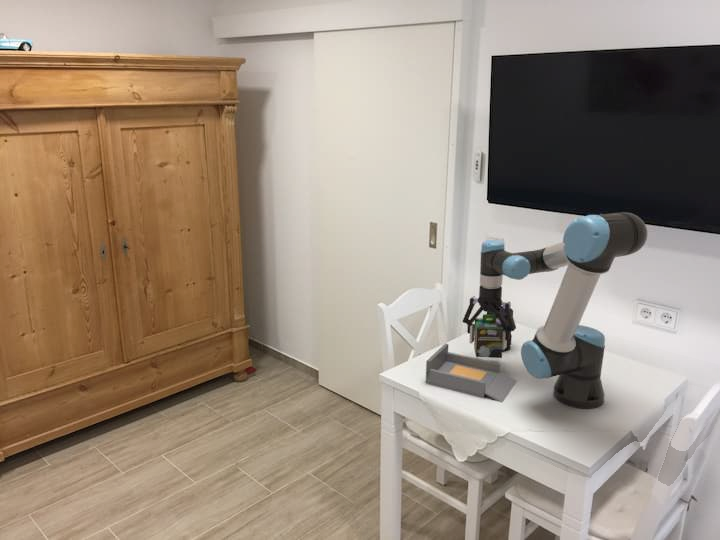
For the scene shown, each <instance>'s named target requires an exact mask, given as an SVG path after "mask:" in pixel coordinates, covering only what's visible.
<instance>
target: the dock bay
mask: <svg viewBox="0 0 720 540" xmlns="http://www.w3.org/2000/svg"><path fill="white" fill-rule="evenodd" d="M425 364H426V365H425V367H426V369H425V384H428V383H429V384H428V385H432V384H433V386H436V387H437V386H438V387H440V388H444V389H445V388H446V389H448V390H453V391H457V392H460V393H463V394H464V393H465V394H469V395H473V396H477V397H481V398H485V396H487V397H489V398H490V399H494V401H496V402H499V403H503V402H504V400H505V399H506V398H507V396H508V395H509V394H510V391H512V389H513V388H514V386H515V385H516V383H517V381H518V380H516V379H515V378H513V377H511V376H509V375H507V374H506V373H503V372H501V363H500V362H495V361H493V360H492V361H491V360H487V359H482V358H479V357H472V356H468V355H464V354H459V353H456V352H450V351H449V343H444V344H443V345H442V346H441V347H440V348H439V349H437V351H435V352H434V353H433V354H432V355H431V356H430V357H428V359H427V360H426V363H425Z"/></svg>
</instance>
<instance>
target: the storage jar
mask: <svg viewBox="0 0 720 540" xmlns="http://www.w3.org/2000/svg"><path fill="white" fill-rule="evenodd" d="M500 309H501V311H502V314H503V315H504V317H505V319H506V321H507V322H508V319H507V316H506V313H505V309H504V308H503V306H502V305H501V306H500ZM510 309H511V312H512V315H513V316H514V309H513V308H511V307H510ZM486 314H495V313H494V312H493V313H491V312H486ZM487 318H492V317H487ZM496 318H498V317H497V316H496ZM508 324H509V323H508ZM504 330H505V329H504V328H503V331H504ZM512 338H513V336H512V331H510V339H509V340H508V341H507V347H506V348H505V350H502V353H506V351H507V352H509V351H510V350H511V348H512V347H511V346H512Z"/></svg>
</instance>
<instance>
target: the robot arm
mask: <svg viewBox="0 0 720 540" xmlns="http://www.w3.org/2000/svg"><path fill="white" fill-rule="evenodd" d="M563 233H564V234H563V235H562V236H563V237H562V241H561V242H558V243H555V244H553V245H550V246H547V247H544V248H540V249H534V250H527V251H519V252H509V251H507V250H505V243H504V242H503V241H501V240H497V239H496V240H494V239H493V240H491V239H490V240H489V239H488V240H484V241H483V242H482V243H481V252H480V274H479V288H478V290H479V292H478V293H479V294H478V296H479V297H476V296H475V295H473V296H471V297H470V298H469V305H468V307H467V310H466V312H465V314H464V317H463V318H462V323H463V324H466V325H467V328H466V329H467V334H469V344H473V343H474V334H475V319H476V318H478V317H479V316H480V315H481V313H482V312H486V313H487V312H491V313H493V312H494V313H495V315H496V316H497V317H498V319H499V321H500V322H501V324H502V326H503V328H504V329H505V330H504V331H503V344H502V350H505V348H506V347H507V341H508V340H509V339H510V331H511V332H515V330H516V329H517V326H516V323H515V320H514V319H515V318H514V314H513V315H512V312H511V309H512V308H511V302H510V301H507V302H505V301H503V300H502V297H503V296H502V293H503V287H502V285H503V279H504V278H503V276H505V277H507V278H509V279H513V280H518V281H520V280H523V279H525V278H526V277H527V276H529V275H532V274H538V273H545V272H547V273H548V272H549V273H550V272H553V271H556V270H558V269H559V268H562V267H567V268H566V269H565V272H564V275H563V277H562V280H561V283H560V285H559V288H558V291H557V292H556V296H555V298H554V299H553V300H554V301H553V303H552V306H551V308H550V311H549V313H548V316H547V319H546V320H545V324H544V325H541V326H539V327H538V328H537V329H536V331H535V334H534V337H533V339H531V340H526V341H525V342H524V343H523V344H522V345H521V348H520V355H521V361H522V364H523V366H524V368H525V370H526V371H527V373H529V375H530V376H532V377H533V378H535V379H538V380H542V379H550V378H554V377H557V376H558V377H557V379H556V380H555V383H554V385H553V393H552V394H553V397H554V398H555V399H557V401H558V402H560V403H562V404H564V405H567V406H570V407H573V408H578V409H594V408H597V407H600V406H602V405H603V404H604V400H605V391H604V387H603V382H602V378H601V375H602V369H603V368H602V367H603V360H604V354H605V348H606V345H605V344H606V343H605V342H606V337H605V335H604V334H603V332H601V331H600V330H599V329H596V328H593V327H590V326H586V325H582V324H580V322H581V321H582V318H583V316H584V314H585V311H586V309H587V307H588V304H589V302H590V299H591V297H592V296H593V292H594V291H595V288H596V286H597V284H598V281H599V279H600V277H601V275H604V274H606V273H608V272H609V270H610V269H611V266H612V265H613V263H614V261H615V258H621V257H625V256H630V255H632V254H635V253H637V252H639V251H640V250H641V249H642V248H643V247H644V246H645V245H646V241H647V240H648V239H647V238H648V228H647V225H646V224H645V221H643V220H642V219H641V218H640V217H639V216H638V215H636V214H634V213H632V212H626V211H625V212H623V211H622V212H614V213H613V212H612V213H605V214H588V215H585V216H581V217H578V218H576V219H574V220H572V221H571V222H570V223H569V224H568V226H567V227H566V229H565V230H564V232H563ZM477 303H478V304H479V306H480V307H479V308H478V309H477V310H476V312H475V313H474V314H473V315H472V317H470V316H471V314H472V311H473V309H474V307H475V305H476V304H477ZM500 306H503V308H504V309H505V313H506V316H507V319H508V322H507V321H506V319H505V317H504V315H503V314H502V311H501V309H500ZM510 308H511V309H510ZM469 318H470V319H469ZM508 323H509V324H508Z"/></svg>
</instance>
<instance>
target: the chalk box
mask: <svg viewBox="0 0 720 540" xmlns="http://www.w3.org/2000/svg"><path fill="white" fill-rule="evenodd" d="M487 317H492V318H487ZM474 324H475V331H474V342H473V343H474V344H473V345H474V346H473V349H474V353H475V354H474V355H475V358H490V359H491V358H493V359H502V358H503V352H502V344H503V326H502V324H501V322H500V321H499V319H498V318H496V315H495V314H487V313H485V314H482V317H479V318H478V317H477V318H476V319H475V320H474Z"/></svg>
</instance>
